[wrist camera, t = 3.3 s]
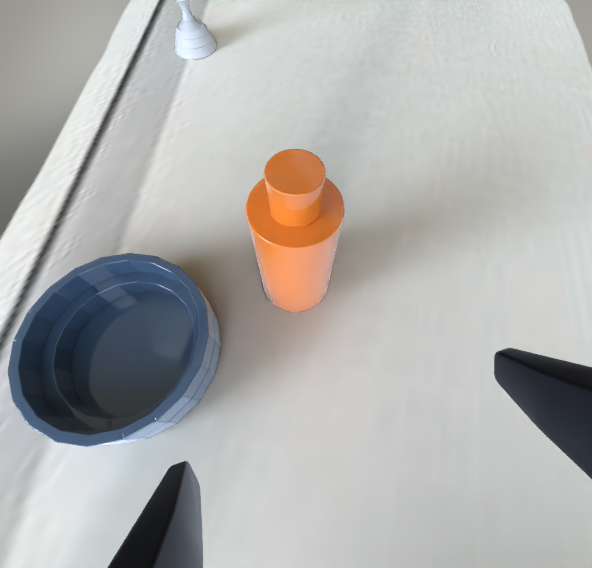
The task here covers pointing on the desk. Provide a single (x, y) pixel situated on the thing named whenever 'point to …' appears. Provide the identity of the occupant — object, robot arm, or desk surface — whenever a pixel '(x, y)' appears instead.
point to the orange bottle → (295, 229)
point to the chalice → (192, 36)
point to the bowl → (114, 352)
